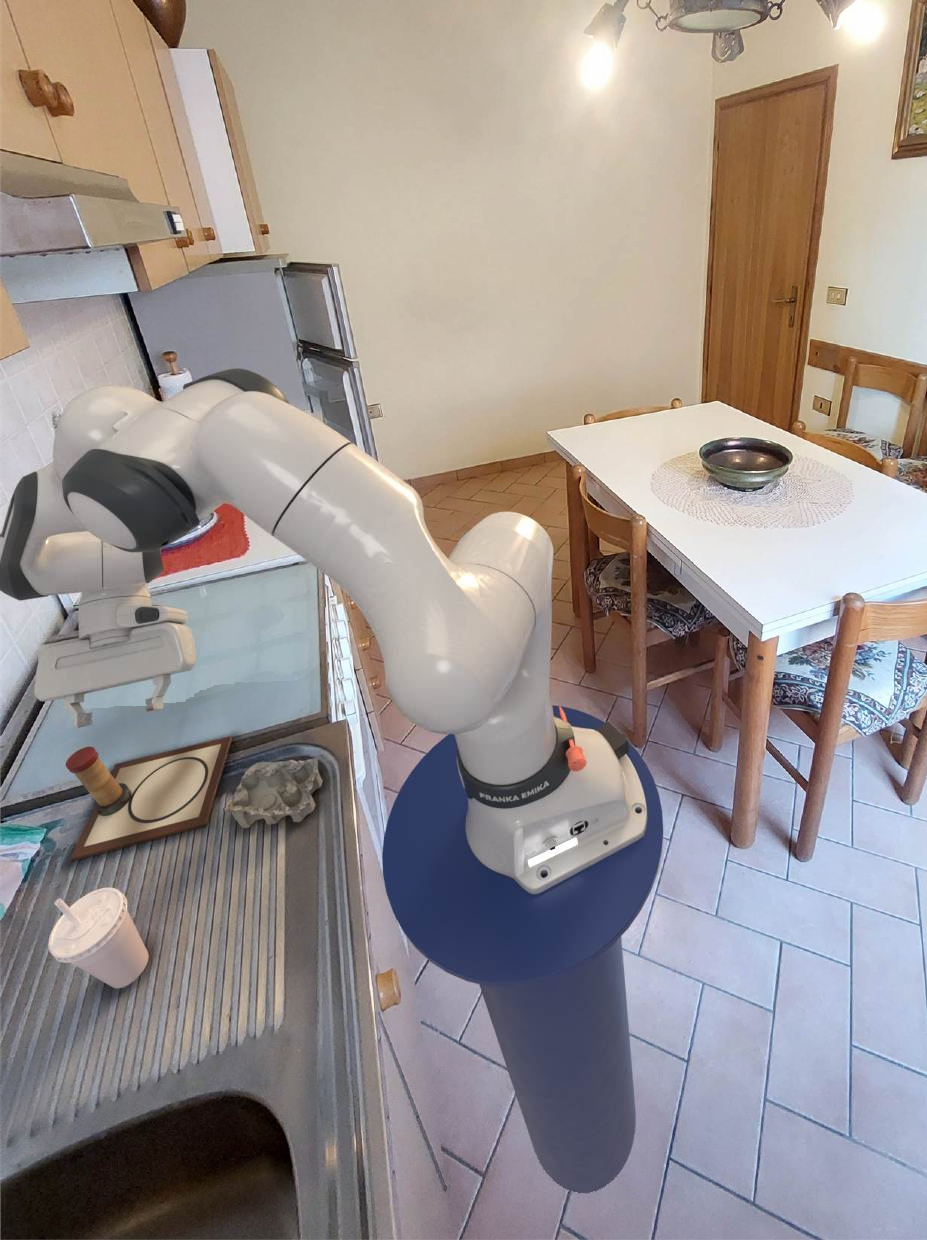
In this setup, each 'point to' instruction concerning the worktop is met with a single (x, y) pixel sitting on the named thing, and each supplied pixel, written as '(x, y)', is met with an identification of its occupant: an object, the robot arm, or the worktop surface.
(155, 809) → the drawing board
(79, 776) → the stamp
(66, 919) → the smoothie
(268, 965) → the worktop surface
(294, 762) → the egg carton
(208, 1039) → the worktop surface
